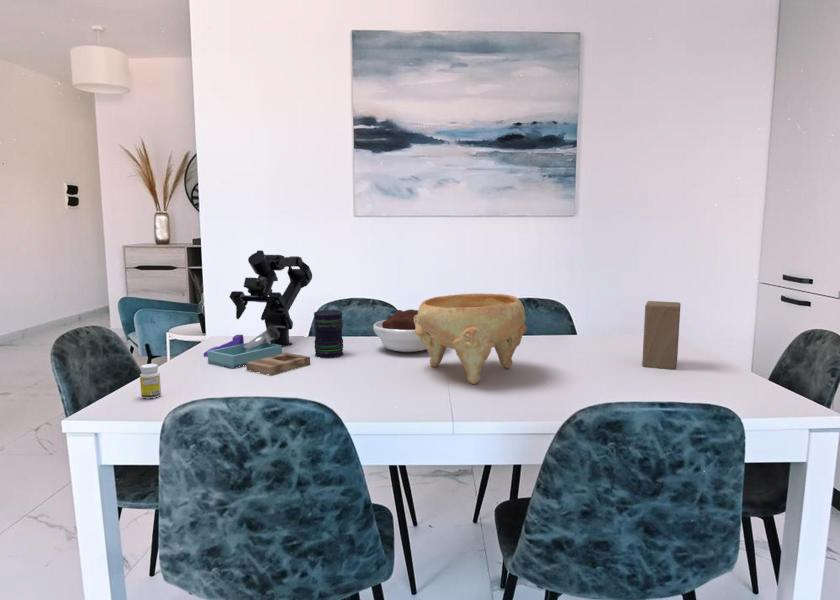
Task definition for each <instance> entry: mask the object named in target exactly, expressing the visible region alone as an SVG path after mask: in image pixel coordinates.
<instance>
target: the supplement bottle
mask: <svg viewBox="0 0 840 600" xmlns="http://www.w3.org/2000/svg"><path fill="white" fill-rule="evenodd" d="M158 370H159V366H158V364H157V363H146V364H143V365H141V366H140V372H141V373H140V374H139V381H140V394H141V395H140V396H141V398H142V399H143V398H146V399H145V400H151V399H150V398H153V399H157V398H159V396H160V397H161V396H162V388H161V387H162V386H161V373H160V372H159V371H158ZM156 397H157V398H156Z"/></svg>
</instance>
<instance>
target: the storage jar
mask: <svg viewBox="0 0 840 600" xmlns="http://www.w3.org/2000/svg"><path fill="white" fill-rule="evenodd" d="M313 316H314V317H313V327H314V328H313V329H314V338H315V339H314V352H315V353H314V357H316V356H317V357H316V358H318V357H320V358H319V359H335V357H336V358H340V357H342V355H344V352H343V351H344V339H343V327H344V325H343V322H344V319H343V311H341V310H330V309H329V310H318V311H314V312H313Z"/></svg>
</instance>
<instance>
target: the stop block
mask: <svg viewBox="0 0 840 600" xmlns="http://www.w3.org/2000/svg"><path fill="white" fill-rule="evenodd" d="M306 365H307V366H310V365H311V356H308V355H307V356H306V355H300V354H296V353H295V354H294V353H289V352H284V353H283V352H282V354H279V355H275V356H271V357H267V358H263V359H259V360H255V361H250V362H246V366H245V367H246V368H245V369H246V371H247V370H251V371H250V372H252V371H255V372H254V373H256V372H260V373H259V374H261V373H264V374H263V375H266V374H269V375H268V376H270V375H271V376H273V375H272V374H274V375H277V374H276V373H278V374H281V373H280V372H282V373H284V372H283V371H285V372H288V371H287V370H289V371H291V369H292V370H295V368H296V369H299V367H300V368H303V367H307V366H306Z"/></svg>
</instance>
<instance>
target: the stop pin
mask: <svg viewBox="0 0 840 600" xmlns="http://www.w3.org/2000/svg"><path fill="white" fill-rule="evenodd" d="M265 328H266V327H265ZM279 337H280V333H279V331H278V329H277V328H276V327H275V326H273V325H270V326H269V327H267V328H266V330H264V331H262V333H260V334H259V335H258V336H256V337H255V338H253V339H251V340H250V341H249V342H246V343H247V344H246V345H244V346H243V348H242V349H243V352H244V353H246V352H251V351H255V350H259V349H261V348H262V347H263V346H265V345H266V344H268V343H270V341H272V340H276V339H277V338H279Z"/></svg>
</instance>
